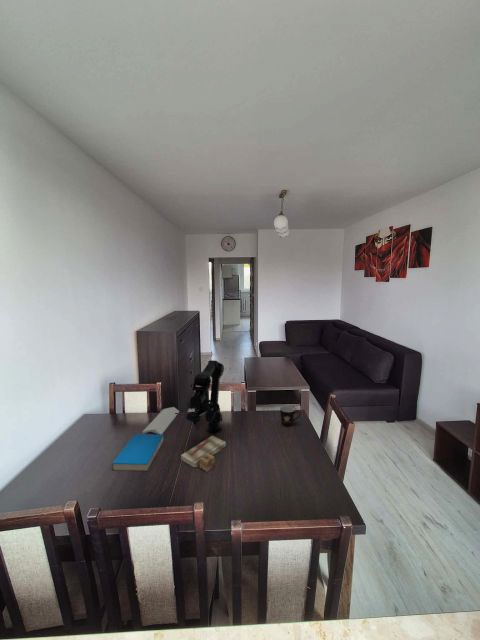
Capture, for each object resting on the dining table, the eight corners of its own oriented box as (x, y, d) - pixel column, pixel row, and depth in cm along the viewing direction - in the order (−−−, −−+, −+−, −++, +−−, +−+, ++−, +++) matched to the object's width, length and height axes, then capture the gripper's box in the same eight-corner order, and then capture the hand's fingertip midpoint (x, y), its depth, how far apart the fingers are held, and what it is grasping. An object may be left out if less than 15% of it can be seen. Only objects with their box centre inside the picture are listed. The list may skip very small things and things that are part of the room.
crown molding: (162, 411, 190) (162, 406, 189) (179, 412, 188) (179, 407, 187) (141, 434, 161) (141, 428, 161) (161, 435, 159) (161, 429, 159)
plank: (212, 439, 154) (212, 435, 153) (225, 446, 148) (225, 441, 147) (181, 459, 137) (180, 455, 136) (194, 467, 131) (194, 463, 130)
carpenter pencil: (207, 440, 149) (207, 439, 148) (209, 441, 148) (209, 440, 148) (190, 454, 137) (190, 453, 137) (191, 455, 136) (191, 454, 136)
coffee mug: (277, 425, 169) (277, 409, 167) (283, 419, 176) (283, 404, 174) (295, 430, 162) (295, 414, 161) (300, 424, 169) (301, 409, 168)
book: (163, 434, 153) (147, 463, 129) (164, 441, 154) (148, 471, 129) (133, 434, 154) (111, 462, 129) (133, 441, 154) (112, 471, 130)
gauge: (207, 462, 135) (206, 451, 134) (214, 466, 132) (214, 455, 131) (199, 467, 131) (199, 456, 130) (207, 472, 128) (206, 460, 127)
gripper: (205, 388, 155) (205, 415, 157) (178, 400, 140) (179, 429, 142) (219, 393, 148) (220, 421, 150) (193, 406, 133) (194, 436, 136)
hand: (203, 426), depth 145 cm, fingers open, 9 cm apart
